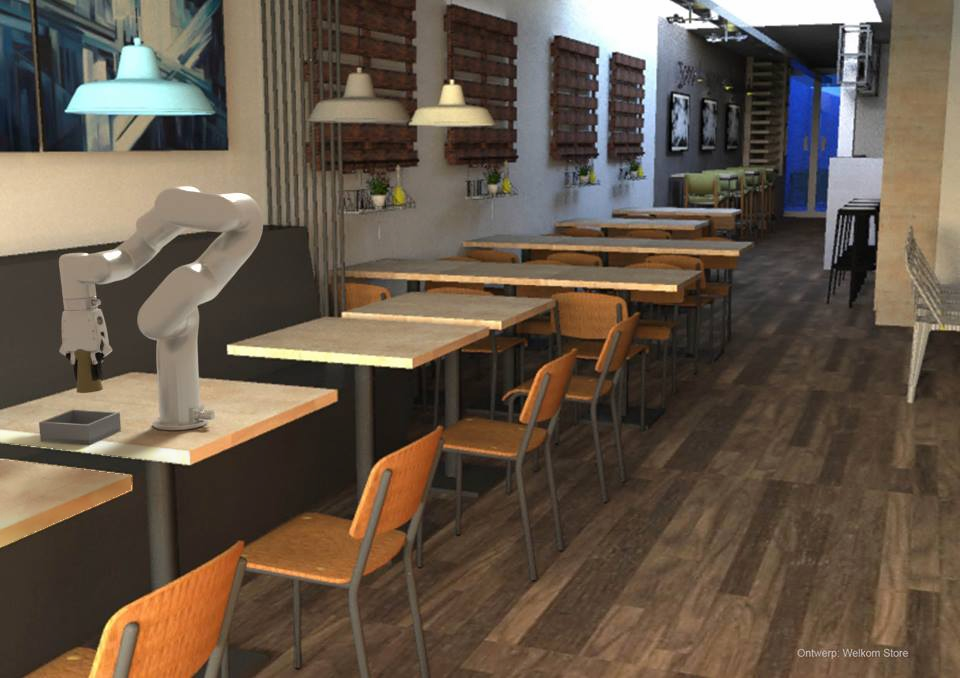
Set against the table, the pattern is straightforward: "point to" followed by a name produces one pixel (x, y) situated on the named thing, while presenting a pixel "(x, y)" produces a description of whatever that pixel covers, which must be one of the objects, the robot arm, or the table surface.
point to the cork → (85, 373)
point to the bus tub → (80, 427)
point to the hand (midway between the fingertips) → (88, 378)
